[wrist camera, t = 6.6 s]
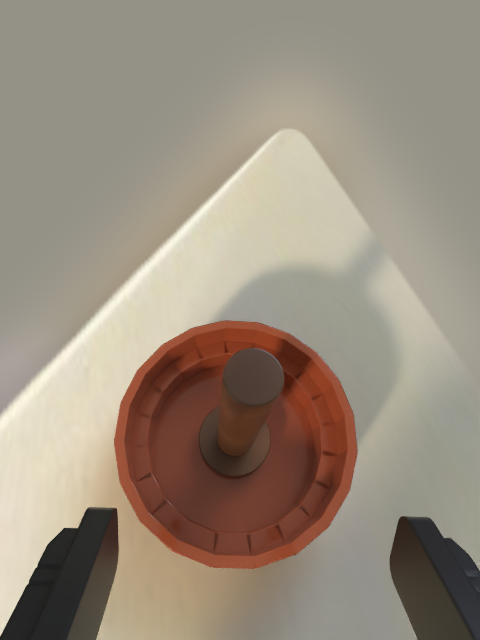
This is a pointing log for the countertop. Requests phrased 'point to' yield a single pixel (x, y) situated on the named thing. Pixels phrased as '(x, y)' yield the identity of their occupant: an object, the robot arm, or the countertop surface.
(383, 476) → the countertop surface
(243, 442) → the masher
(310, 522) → the bowl
